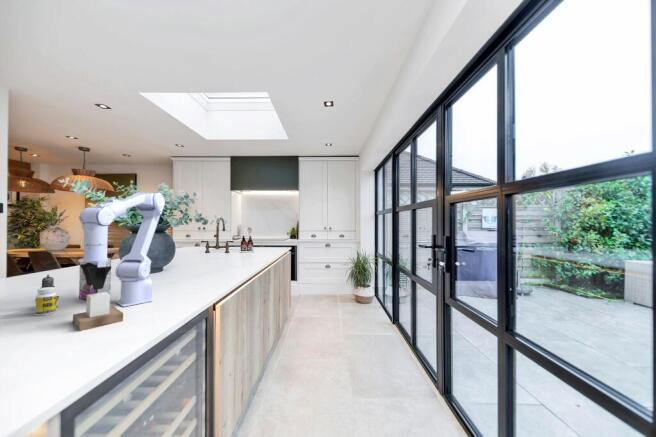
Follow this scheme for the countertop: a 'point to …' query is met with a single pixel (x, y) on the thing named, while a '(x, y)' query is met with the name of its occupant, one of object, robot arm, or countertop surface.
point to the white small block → (97, 304)
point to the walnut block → (97, 319)
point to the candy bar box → (86, 289)
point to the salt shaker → (48, 284)
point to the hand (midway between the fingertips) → (94, 287)
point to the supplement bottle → (45, 301)
